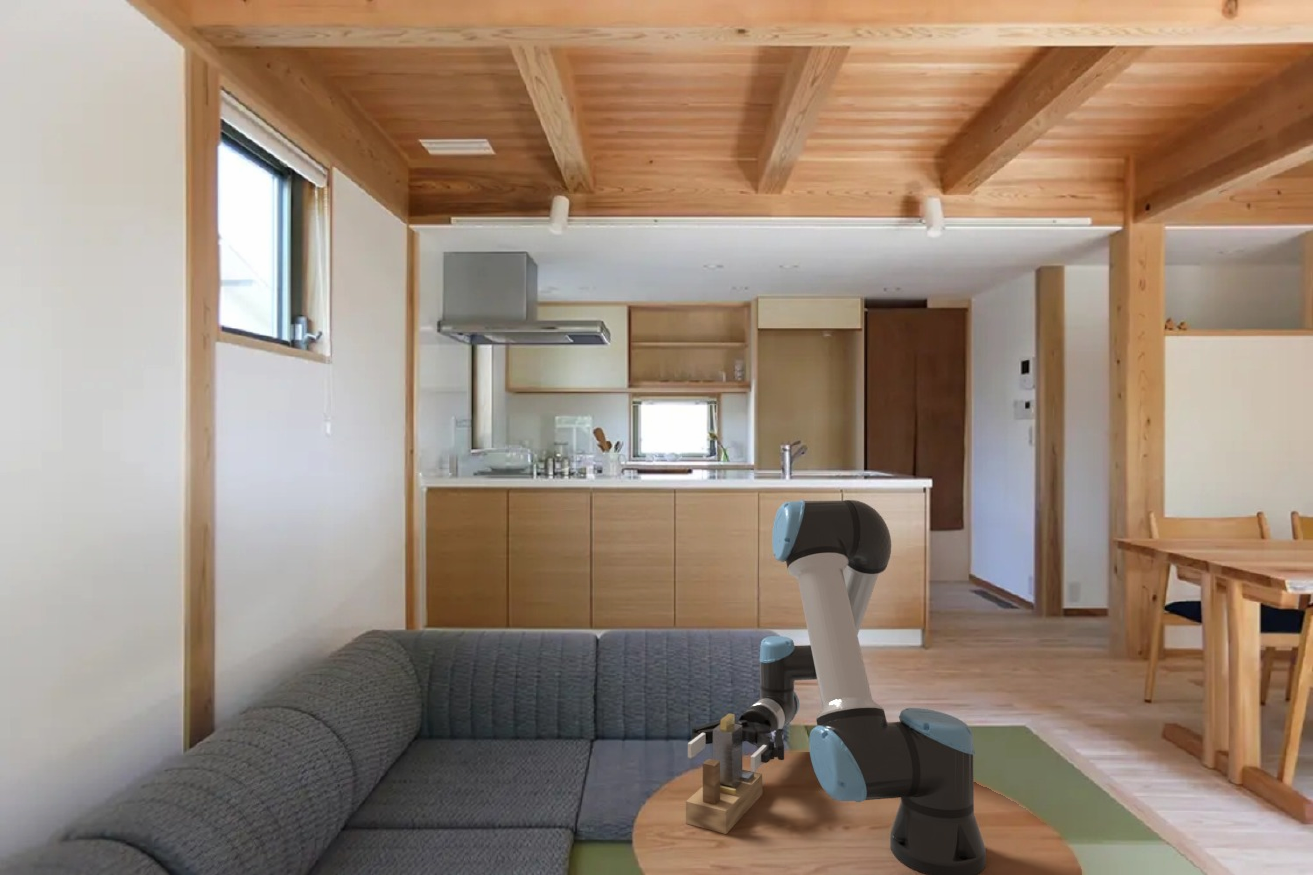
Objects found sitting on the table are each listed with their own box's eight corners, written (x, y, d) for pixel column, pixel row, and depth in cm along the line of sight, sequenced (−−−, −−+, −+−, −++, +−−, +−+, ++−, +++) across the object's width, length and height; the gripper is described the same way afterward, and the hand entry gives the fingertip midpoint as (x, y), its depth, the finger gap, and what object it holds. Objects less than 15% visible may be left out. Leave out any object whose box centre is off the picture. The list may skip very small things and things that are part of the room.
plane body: (762, 794, 150) (762, 738, 151) (726, 833, 135) (725, 771, 135) (725, 785, 154) (725, 731, 154) (685, 823, 138) (685, 762, 139)
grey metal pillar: (742, 782, 147) (742, 714, 147) (732, 792, 142) (732, 722, 142) (723, 777, 148) (723, 711, 149) (712, 787, 144) (712, 719, 144)
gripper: (817, 750, 155) (782, 791, 136) (709, 729, 167) (663, 764, 148) (817, 713, 155) (782, 749, 137) (709, 695, 167) (663, 726, 148)
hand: (720, 757), depth 142 cm, fingers open, 12 cm apart
